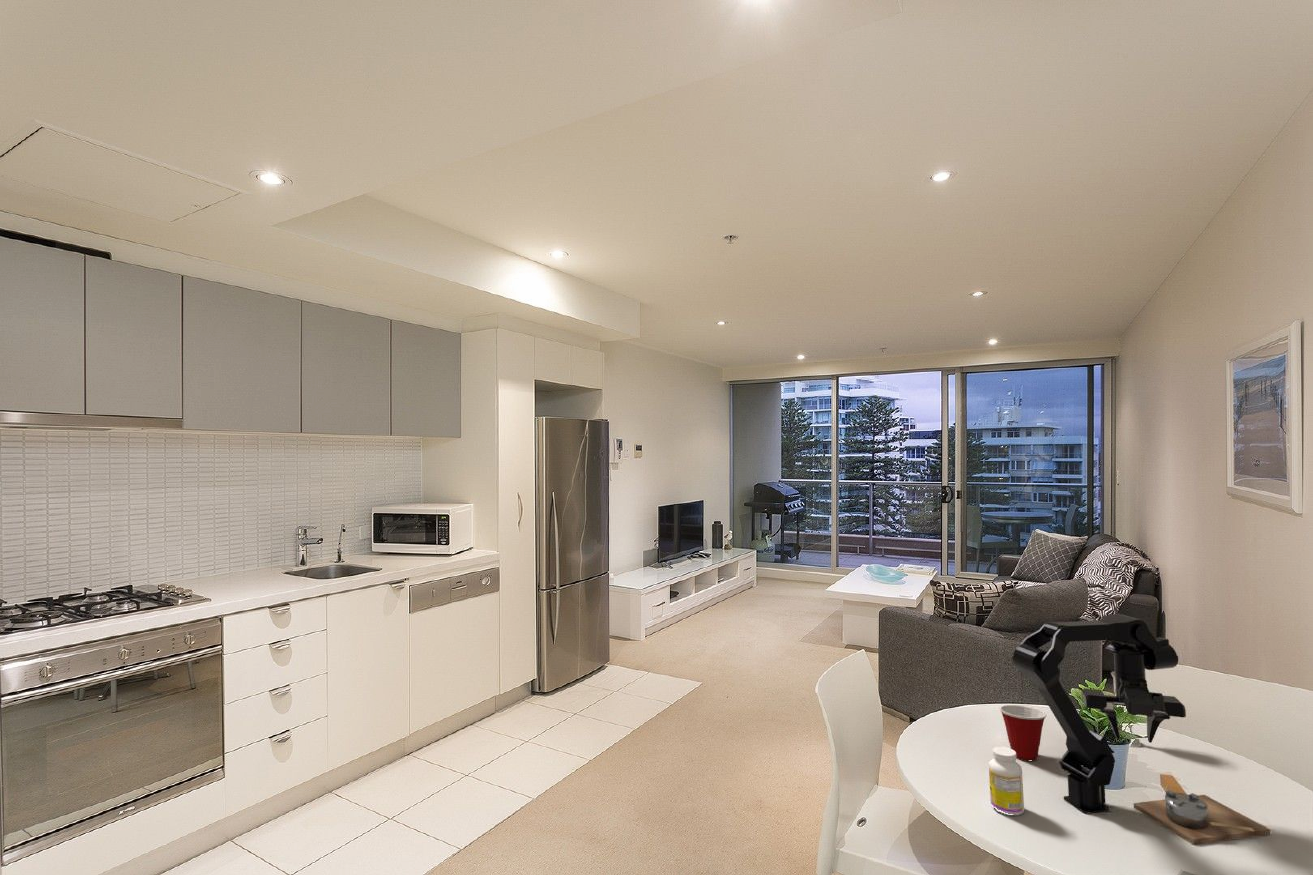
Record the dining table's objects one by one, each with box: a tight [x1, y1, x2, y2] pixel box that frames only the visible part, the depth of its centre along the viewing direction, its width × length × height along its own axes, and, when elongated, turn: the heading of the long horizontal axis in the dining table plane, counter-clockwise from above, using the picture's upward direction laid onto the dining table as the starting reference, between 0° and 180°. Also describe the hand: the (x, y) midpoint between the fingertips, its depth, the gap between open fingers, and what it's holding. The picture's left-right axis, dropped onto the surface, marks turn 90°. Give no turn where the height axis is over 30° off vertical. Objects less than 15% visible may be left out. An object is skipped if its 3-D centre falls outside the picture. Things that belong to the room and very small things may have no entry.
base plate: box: [1133, 794, 1272, 845], centre depth 140 cm, size 18×14×1 cm
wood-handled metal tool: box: [1159, 773, 1209, 828], centre depth 142 cm, size 16×7×4 cm, turn 158°
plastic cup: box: [999, 704, 1047, 762], centre depth 171 cm, size 11×11×12 cm
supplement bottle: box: [988, 746, 1025, 816], centre depth 147 cm, size 7×7×13 cm
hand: (1133, 740), depth 150 cm, fingers open, 6 cm apart
